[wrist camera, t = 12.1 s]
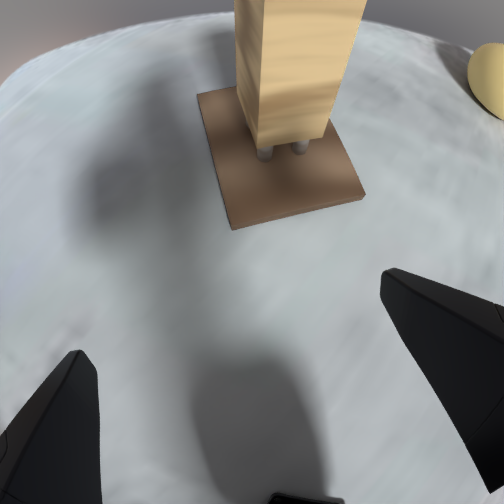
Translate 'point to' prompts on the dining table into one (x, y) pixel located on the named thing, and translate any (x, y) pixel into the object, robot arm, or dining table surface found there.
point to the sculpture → (488, 77)
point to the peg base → (273, 167)
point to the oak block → (292, 64)
